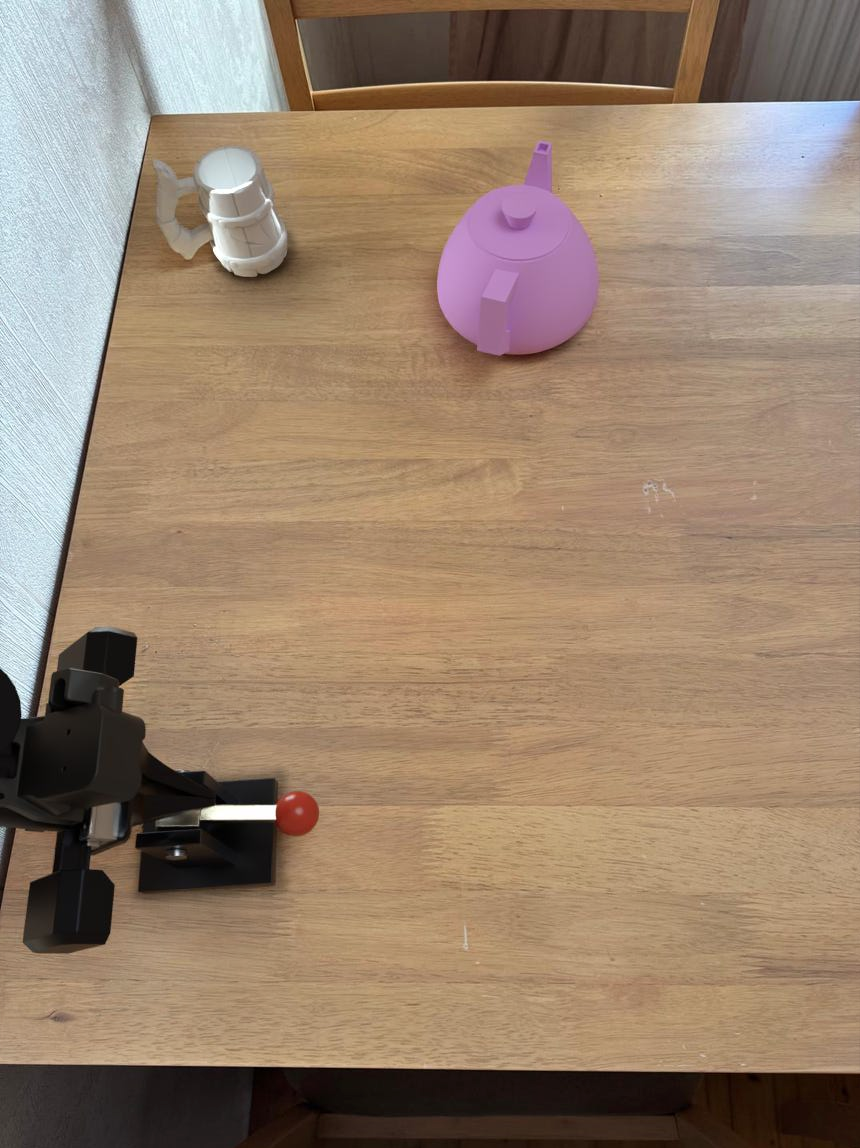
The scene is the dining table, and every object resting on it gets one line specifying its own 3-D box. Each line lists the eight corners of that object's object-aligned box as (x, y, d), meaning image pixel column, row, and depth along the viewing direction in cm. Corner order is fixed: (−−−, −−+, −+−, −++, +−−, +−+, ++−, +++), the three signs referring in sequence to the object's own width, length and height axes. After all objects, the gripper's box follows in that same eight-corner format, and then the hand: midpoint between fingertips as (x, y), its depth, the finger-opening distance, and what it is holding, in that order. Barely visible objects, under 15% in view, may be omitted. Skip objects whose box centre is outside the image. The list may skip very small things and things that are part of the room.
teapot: (571, 406, 86) (582, 314, 75) (412, 376, 87) (399, 281, 76) (615, 234, 94) (630, 129, 83) (468, 210, 96) (464, 103, 85)
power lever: (317, 796, 68) (321, 786, 65) (316, 840, 67) (321, 831, 64) (160, 797, 65) (158, 785, 62) (157, 842, 64) (154, 832, 61)
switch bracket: (278, 781, 72) (246, 746, 63) (275, 885, 69) (242, 863, 60) (151, 790, 72) (101, 756, 63) (143, 894, 69) (89, 874, 60)
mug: (298, 269, 93) (271, 167, 82) (183, 296, 92) (139, 197, 81) (282, 216, 96) (254, 111, 85) (171, 242, 95) (127, 138, 84)
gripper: (-23, 929, 41) (276, 935, 51) (30, 561, 48) (283, 631, 59) (-95, 953, 48) (180, 955, 59) (-39, 630, 56) (197, 682, 66)
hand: (212, 801), depth 60 cm, fingers closed
